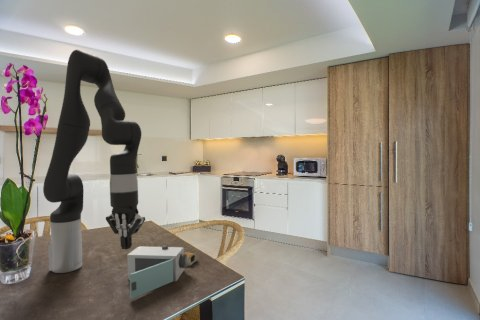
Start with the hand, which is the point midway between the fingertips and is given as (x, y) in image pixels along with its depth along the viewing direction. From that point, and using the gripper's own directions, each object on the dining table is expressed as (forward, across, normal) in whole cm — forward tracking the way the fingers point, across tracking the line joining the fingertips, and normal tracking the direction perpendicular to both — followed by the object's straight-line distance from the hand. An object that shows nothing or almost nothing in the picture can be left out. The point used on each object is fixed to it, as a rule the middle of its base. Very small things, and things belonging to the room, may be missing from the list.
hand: (126, 248), depth 83 cm
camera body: (+13, -1, -12) cm, 18 cm away
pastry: (+13, -4, -25) cm, 28 cm away
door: (+12, -7, -3) cm, 15 cm away
